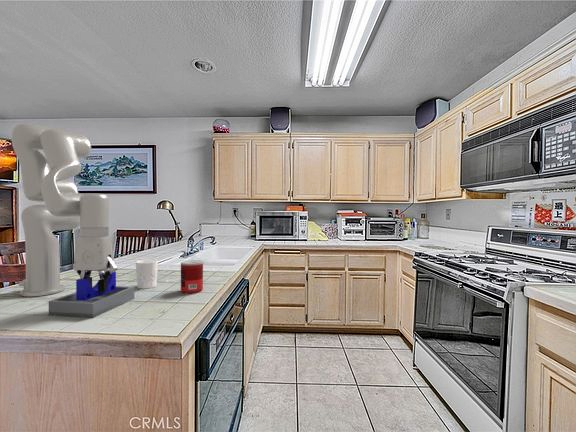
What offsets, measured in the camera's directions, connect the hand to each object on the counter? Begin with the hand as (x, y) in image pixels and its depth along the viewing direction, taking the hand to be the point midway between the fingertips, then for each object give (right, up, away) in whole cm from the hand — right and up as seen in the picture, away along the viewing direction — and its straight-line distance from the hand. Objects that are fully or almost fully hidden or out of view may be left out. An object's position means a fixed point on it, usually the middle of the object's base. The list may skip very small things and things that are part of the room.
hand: (95, 290), depth 93 cm
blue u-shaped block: (0, -1, 0) cm, 1 cm away
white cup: (+5, -5, +24) cm, 25 cm away
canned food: (+24, -5, +18) cm, 31 cm away
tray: (0, -5, 0) cm, 5 cm away
